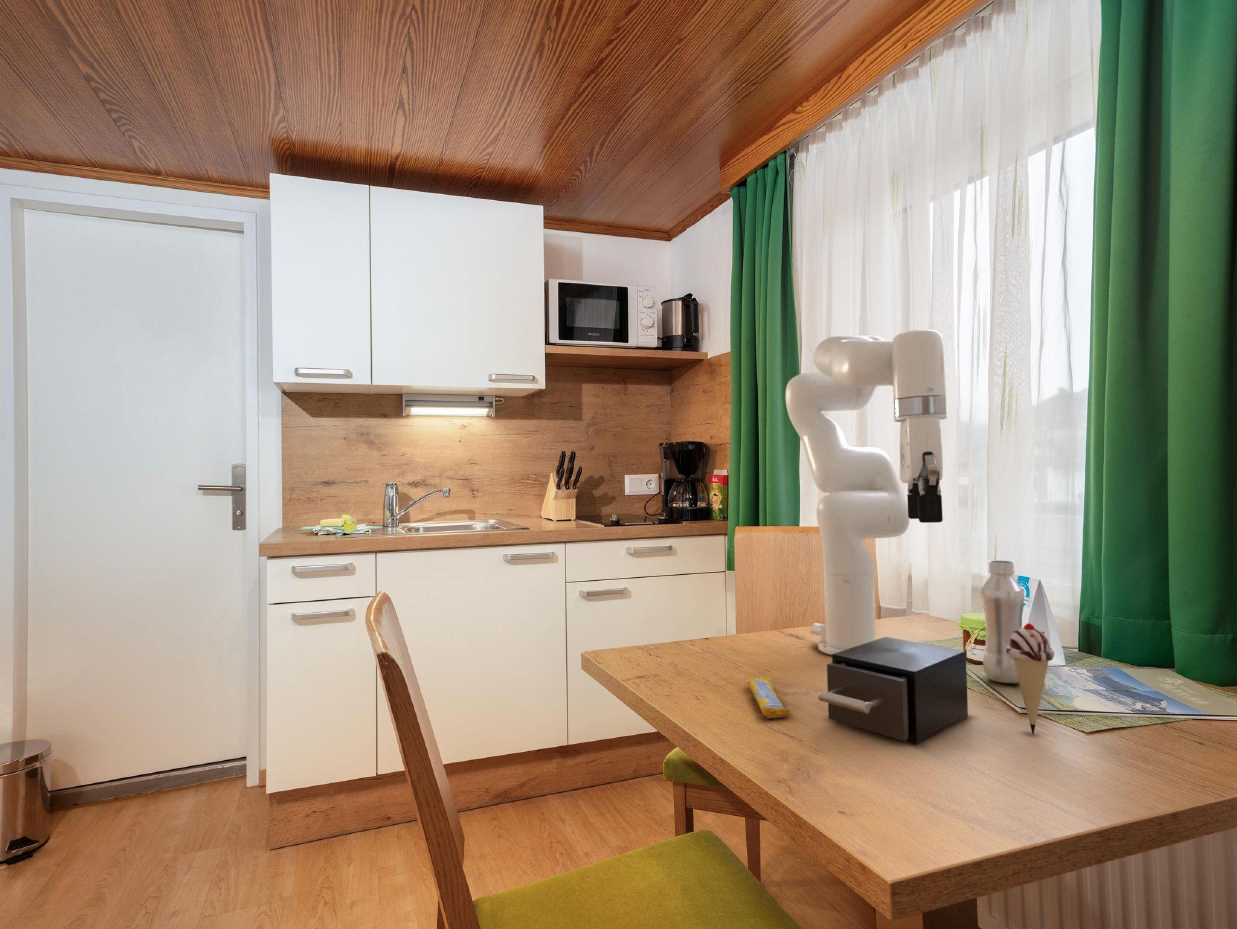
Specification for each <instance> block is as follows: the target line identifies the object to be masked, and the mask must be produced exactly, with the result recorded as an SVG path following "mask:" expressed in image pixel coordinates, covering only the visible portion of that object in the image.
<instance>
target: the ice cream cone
mask: <svg viewBox="0 0 1237 929" xmlns="http://www.w3.org/2000/svg"><path fill="white" fill-rule="evenodd" d="M1013 633H1014V634H1013V635H1012V637H1011V640H1010V645H1008V646H1007V647H1006V653H1007V656H1008V657H1009V658H1013V662H1014V666H1015V670H1016V673H1017V677H1018V681H1019V683H1018V685H1019V688H1020V691H1021V696H1022V699H1023V700H1022V701H1023V703H1024V704H1023V705H1024V707H1025V711H1026V714H1027V719H1028V722H1029V726H1030V731H1031V734H1032V735H1034V734H1035V729H1036V725H1037V719H1038V716H1039V710H1040V704H1041V700H1042V695H1043V690H1044V685H1045V680H1046V676H1047V671H1048V667H1049V661H1053V659H1054V657H1055V650H1054V649H1052V647H1051V644H1050V641H1049V639H1048V637H1047V636H1046V635H1045V631H1041V630H1039V629H1037V628H1035V626H1034V625H1033V624H1032V623H1025V625H1024V626H1023V627H1021V628H1020V629H1018V630H1017V631H1013Z"/></svg>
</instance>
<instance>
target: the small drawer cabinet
mask: <svg viewBox="0 0 1237 929" xmlns="http://www.w3.org/2000/svg"><path fill="white" fill-rule="evenodd" d="M843 662H846V663H850V664H855V665H860V666H864V667H869V668H873V669H878V670H882V671H887V672H891V673H896V674H900V675H905V676H910V677H909V680H910V709H911V731H910V732H908V739H907V740H905V741H904V742H907V743H909V744H910V743H911V744H914V745H919V744H921V743H922V742H925V741H927V740H928V739H930V738H932V737H934V736H936V735H938V734H940V733H941V732H943V731H945V730H947V729H949V728H951V727H952V726H954V725H956V724H958V723H960V722H963V720H966V719H967V718H969V713H968V712H969V705H968V679H967V678H968V676H967V673H968V672H967V651H966V650H962V649H955V648H950V647H945V646H941V645H940V646H939V645H934V644H928V643H923V642H917V641H911V640H907V639H899V638H895V637H889V636H888V637H887V636H884V637H879V638H878V639H877V638H876V640H874V641H871V642H868V643H865V644H862V645H859V646H856V647H853V648H850V649H847V650H844V651H841V652H837V653H834V654H832V655H831V663H836V664H840V665H841V663H843Z"/></svg>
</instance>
